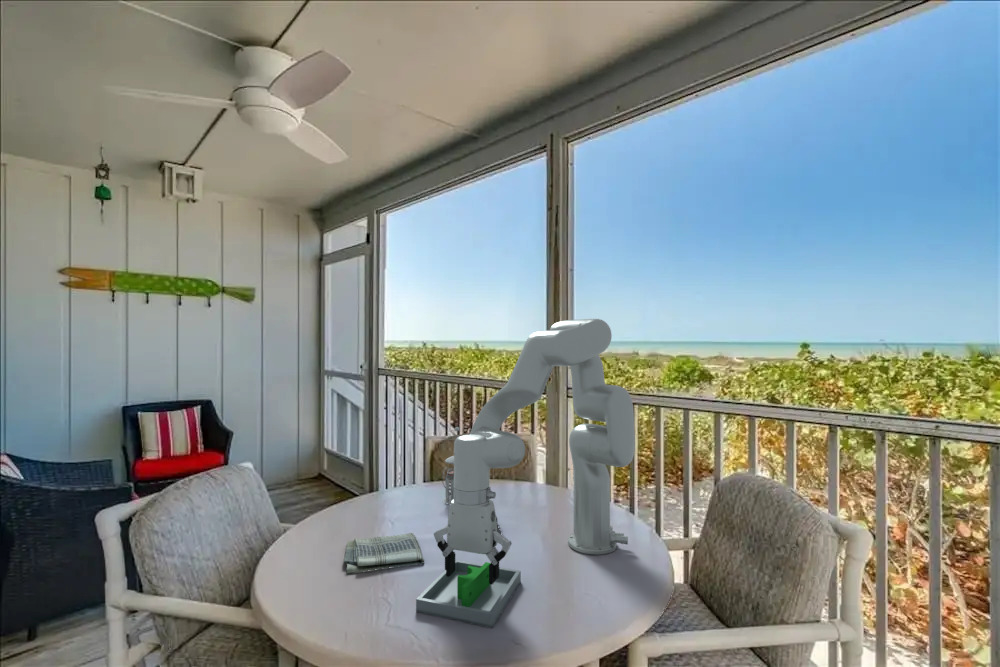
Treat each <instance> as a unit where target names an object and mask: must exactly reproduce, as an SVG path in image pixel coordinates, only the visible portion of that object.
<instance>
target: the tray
mask: <svg viewBox="0 0 1000 667" xmlns="http://www.w3.org/2000/svg"><path fill="white" fill-rule="evenodd" d="M482 565H483V564H482V563H476V562H471V561H466V560H465V561H464V560H458V559H455V571H454V573H453V574H452V575H451V576H449V577H447V576H446V570H445V569H444V570H443V571H442V573H441V574H439V576H437V577H436V578H435V580H433V582H432V583H431V584H429V585H428V586H427V588H425V589H424V591H422V592H421V593H420V595H418V597H416V599H415V612H416V613H418V614H424V615H429V616H433V617H439V618H443V619H447V620H451V621H455V622H456V621H457V622H461V623H465V624H469V625H470V624H471V625H476V626H481V627H485V628H489V629H493V628H494V626H495V625H496V623H497V622H498V620H499V618H500V616H501V615H502V613H503V611H504V610H505V608H506V607H507V606H508V604H509V602H510V601H511V599H512V597H513V595H514V594H515V592H516V591H517V589H518V587H519V586H520V584H521V583H522V581H521V580H522V578H521V576H522V575H521V573H522V572H521V570H518V569H512V568H506V567H500V566H499V577H498V579H496V581H495V582H494V583H493V585H491V584H490V585H489V586H488V587H487V588H486V589H485V590H484V592H483V593H482V594H481V595H480V596H479V597H478V598H477V599H476V600H475V602H474V603H473V604H472V605H471V606H470V607H465V606H462V600H461V599H457V577H458V576H459V575H467V567H468V566H473V567H478V568H480V567H481V566H482Z"/></svg>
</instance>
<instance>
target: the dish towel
mask: <svg viewBox="0 0 1000 667" xmlns="http://www.w3.org/2000/svg"><path fill="white" fill-rule="evenodd" d="M345 548H346V549H345V553H344V554H345V555H344V558H343V562H344V563H346V565H347V567H346V573H347V574H346V575H349V574H348V573H352V574H356V573H355V572H361V573H364V572H363V571H368V570H375V569H382V568H389V567H397V568H399V567H398V566H405V567H409V566H408V565H412V566H417V565H416V564H421V565H423V564H424V563H425V558H424V556H423V553H422V549H421V546H420V543H419V540H418V539H417V537H416V535H415V534H414V533H413V532H408V533H404V534H397V535H390V536H375V537H369V538H354V540H348V541H347V543H346V547H345ZM389 569H390V568H389ZM382 570H383V569H382ZM375 571H376V570H375ZM368 572H369V571H368Z"/></svg>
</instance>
